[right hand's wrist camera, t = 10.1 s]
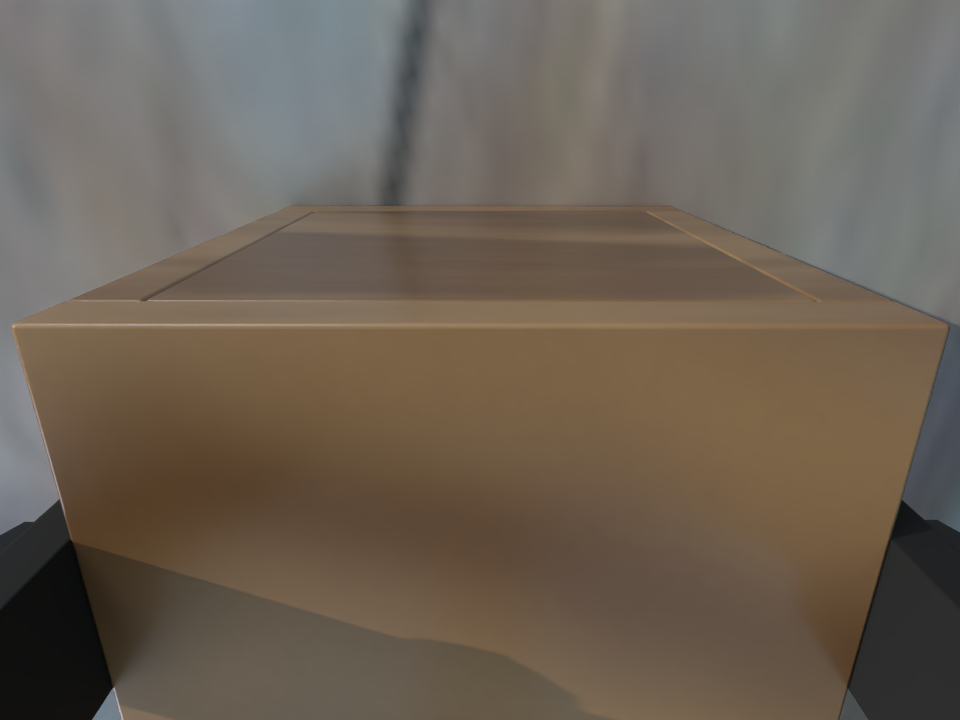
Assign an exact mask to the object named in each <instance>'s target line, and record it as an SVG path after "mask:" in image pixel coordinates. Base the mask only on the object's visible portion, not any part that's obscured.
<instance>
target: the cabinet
mask: <svg viewBox="0 0 960 720" xmlns="http://www.w3.org/2000/svg"><path fill="white" fill-rule="evenodd" d="M949 331H950V328H949V325H948V324H946V323H944V322H942V321H939V320H937V319H935V318H932V317H930V316H928V315H925V314H923V313H921V312H918V311H916V310H914V309H911V308H909V307H906V306H904V305H902V304H899V303H897V302H892V300H889V299H887V298H885V297H882V296H880V295H878V294H875V293H873V292H871V291H868V290H866V289H864V288H861V287H859V286H857V285H854V284H852V283H850V282H847V281H845V280H843V279H840V278H838V277H835V276H833V275H831V274H828V273H826V272H824V271H821V270H819V269H817V268H814V267H812V266H810V265H807V264H805V263H803V262H800V261H798V260H795V259H793V258H791V257H788V256H786V255H784V254H781V253H779V252H777V251H774V250H772V249H770V248H767V247H765V246H763V245H760V244H758V243H756V242H753V241H751V240H748V239H746V238H744V237H741V236H739V235H737V234H734V233H732V232H730V231H727V230H725V229H723V228H720V227H718V226H716V225H713V224H711V223H709V222H706V221H704V220H701V219H699V218H697V217H694V216H692V215H690V214H687V213H685V212H683V211H681V210H679V209H676V208H674V207H671V206H289V207H286V208H284V209H282V210H279V211H278V212H275V213H273V214H271V215H268V216H266V217H264V218H261V219H259V220H257V221H254V222H252V223H250V224H247V225H245V226H243V227H240V228H238V229H235V230H233V231H231V232H228V233H226V234H224V235H221V236H219V237H217V238H214V239H212V240H210V241H207V242H205V243H203V244H200V245H198V246H196V247H193V248H191V249H188V250H186V251H184V252H181V253H179V254H177V255H174V256H172V257H170V258H167V259H165V260H163V261H160V262H158V263H156V264H153V265H151V266H148V267H146V268H144V269H141V270H139V271H137V272H134V273H132V274H130V275H127V276H125V277H123V278H120V279H118V280H116V281H113V282H111V283H109V284H106V285H104V286H101V287H99V288H97V289H94V290H92V291H90V292H87V293H85V294H83V295H80V296H78V297H76V298H73V299H71V300H70V301H65V302H63V303H60V304H58V305H56V306H53V307H51V308H49V309H46V310H44V311H41V312H39V313H37V314H34V315H32V316H30V317H27V318H25V319H23V320H20V321H18V322H16V323H14V324H13V325H12V332H13V335H14V339H15V342H16V346H17V349H18V353H19V356H20V360H21V364H22V367H23V371H24V374H25V378H26V381H27V385H28V388H29V392H30V396H31V399H32V403H33V406H34V410H35V413H36V417H37V420H38V424H39V428H40V431H41V435H42V438H43V442H44V445H45V449H46V452H47V456H48V460H49V463H50V467H51V470H52V474H53V477H54V481H55V484H56V488H57V492H58V495H59V499H60V502H61V506H62V509H63V513H64V516H65V520H66V524H67V527H68V531H69V534H70V538H71V541H72V545H73V548H74V552H75V556H76V559H77V563H78V566H79V570H80V573H81V577H82V580H83V584H84V588H85V591H86V595H87V598H88V602H89V605H90V609H91V612H92V616H93V620H94V623H95V627H96V630H97V634H98V637H99V641H100V644H101V648H102V652H103V655H104V659H105V662H106V666H107V669H108V673H109V676H110V680H111V684H112V687H113V691H114V694H115V698H116V701H117V705H118V708H119V712H120V716H121V719H122V720H839V718H840V715H841V711H842V708H843V704H844V700H845V697H846V693H847V690H848V686H849V683H850V679H851V676H852V672H853V669H854V665H855V662H856V658H857V655H858V651H859V648H860V644H861V641H862V637H863V634H864V630H865V626H866V623H867V619H868V616H869V612H870V609H871V605H872V602H873V598H874V595H875V591H876V588H877V584H878V581H879V577H880V574H881V570H882V567H883V563H884V560H885V556H886V553H887V549H888V545H889V542H890V538H891V535H892V531H893V528H894V524H895V521H896V517H897V514H898V510H899V507H900V503H901V500H902V496H903V493H904V489H905V486H906V482H907V479H908V475H909V471H910V468H911V464H912V461H913V457H914V454H915V450H916V447H917V443H918V440H919V436H920V433H921V429H922V426H923V422H924V419H925V415H926V412H927V408H928V405H929V401H930V398H931V394H932V390H933V387H934V383H935V380H936V376H937V373H938V369H939V366H940V362H941V359H942V355H943V352H944V348H945V345H946V341H947V338H948V334H949Z"/></svg>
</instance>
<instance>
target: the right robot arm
mask: <svg viewBox="0 0 960 720" xmlns="http://www.w3.org/2000/svg"><path fill="white" fill-rule="evenodd" d="M112 688H113V687H112V684H111V680H110V676H109V673H108V669H107V666H106V662H105V659H104V655H103V652H102V648H101V644H100V641H99V637H98V634H97V630H96V627H95V623H94V620H93V616H92V612H91V609H90V605H89V602H88V598H87V595H86V591H85V588H84V584H83V580H82V577H81V573H80V570H79V566H78V563H77V559H76V556H75V552H74V548H73V545H72V541H71V538H70V534H69V531H68V527H67V524H66V520H65V516H64V513H63V509H62V506H61V502H60V499H59V500H58V501H57V502H56V503H55V504H54V505H53V506H52V507H50V508H49V509H48V510H47V511H46V512H45V513H44V514H43V515H42V516H40V517H39V518H38V519H37V520H36V521H35V522H24V523H22V524H20V525H18V526H16V527H15V528H13V529H11V530H9V531H7V532H6V533H4V534H2V535H0V720H92V719H93V717H94V716H95V714H96V713H97V711H98V710H99V708H100V707H101V705H102V704H103V702H104V700H105V699H106V697H107V696H108V694H109V693H110V691H111V690H112ZM848 689H849V690H850V692H851V693H852V695H853V696H854V698H855V699H856V701H857V702H858V704H859V706H860V707H861V709H862V710H863V712H864V713H865V715H866V716H867V718H868V719H869V720H960V532H958V531H956V530H954V529H952V528H951V527H949V526H947V525H945V524H943V523H942V522H940V521H938V520H924V519H923V518H921V517H920V516H919V515H918V514H917V513H916V512H915V511H914V510H913V509H911V508H910V507H909V506H908V505H907V504H906V503H905V502H904V501H902V500H901V503H900V507H899V510H898V514H897V517H896V521H895V524H894V528H893V531H892V535H891V538H890V542H889V545H888V549H887V553H886V556H885V560H884V563H883V567H882V570H881V574H880V577H879V581H878V584H877V588H876V591H875V595H874V598H873V602H872V605H871V609H870V612H869V616H868V619H867V623H866V626H865V630H864V634H863V637H862V641H861V644H860V648H859V651H858V655H857V658H856V662H855V665H854V669H853V672H852V676H851V679H850V683H849V686H848Z"/></svg>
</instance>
